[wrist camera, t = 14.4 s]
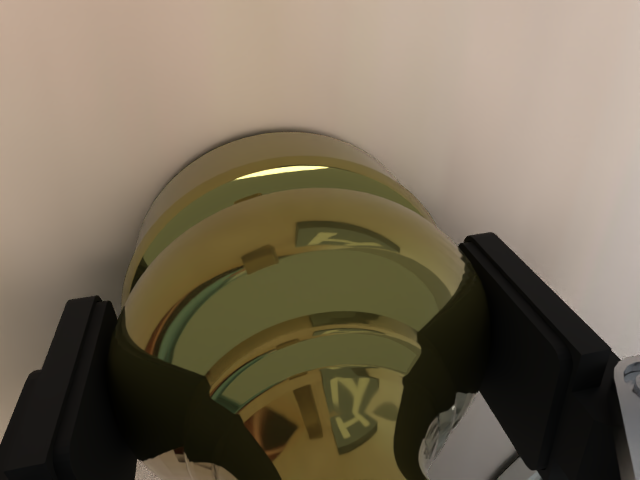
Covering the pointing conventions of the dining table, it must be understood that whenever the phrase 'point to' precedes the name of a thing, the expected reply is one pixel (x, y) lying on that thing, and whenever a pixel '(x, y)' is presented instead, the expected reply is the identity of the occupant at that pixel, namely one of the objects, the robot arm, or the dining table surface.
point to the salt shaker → (294, 321)
